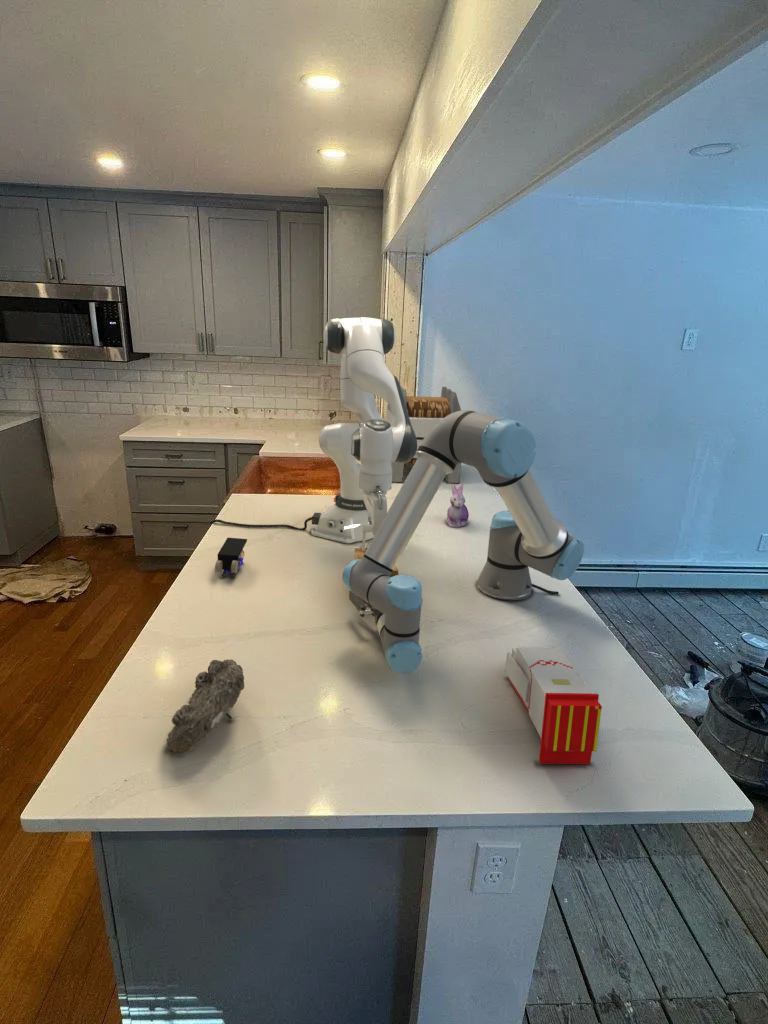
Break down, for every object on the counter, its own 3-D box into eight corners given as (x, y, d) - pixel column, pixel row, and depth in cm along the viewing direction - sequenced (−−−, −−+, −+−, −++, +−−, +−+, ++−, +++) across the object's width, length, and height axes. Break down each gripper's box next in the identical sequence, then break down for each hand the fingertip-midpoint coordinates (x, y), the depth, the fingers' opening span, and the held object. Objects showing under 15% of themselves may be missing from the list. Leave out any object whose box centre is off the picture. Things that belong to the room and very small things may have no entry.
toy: (554, 629, 125) (611, 701, 96) (548, 684, 128) (602, 772, 98) (500, 628, 125) (540, 700, 95) (495, 684, 127) (533, 771, 98)
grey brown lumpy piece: (192, 660, 117) (244, 628, 112) (224, 691, 120) (276, 661, 115) (142, 746, 98) (202, 712, 93) (182, 779, 101) (242, 748, 96)
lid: (354, 551, 161) (355, 522, 158) (387, 550, 163) (389, 522, 160) (361, 576, 147) (362, 544, 144) (398, 574, 148) (400, 543, 145)
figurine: (454, 529, 206) (457, 490, 201) (439, 520, 214) (442, 482, 209) (475, 526, 210) (479, 487, 205) (459, 517, 218) (463, 479, 213)
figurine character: (238, 584, 162) (249, 557, 175) (236, 562, 158) (247, 536, 172) (215, 584, 161) (227, 556, 175) (212, 561, 158) (225, 535, 171)
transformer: (382, 463, 289) (386, 382, 275) (445, 464, 293) (451, 384, 279) (390, 482, 257) (394, 392, 243) (460, 483, 261) (468, 394, 247)
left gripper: (394, 493, 143) (391, 543, 148) (381, 471, 162) (379, 516, 167) (369, 493, 142) (367, 544, 147) (359, 471, 161) (357, 516, 166)
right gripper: (344, 639, 130) (335, 593, 151) (438, 634, 134) (417, 590, 155) (345, 611, 128) (336, 568, 148) (440, 606, 132) (419, 565, 152)
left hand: (373, 529), depth 157 cm, fingers open, 7 cm apart
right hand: (377, 579), depth 152 cm, fingers closed on chest, 10 cm apart
